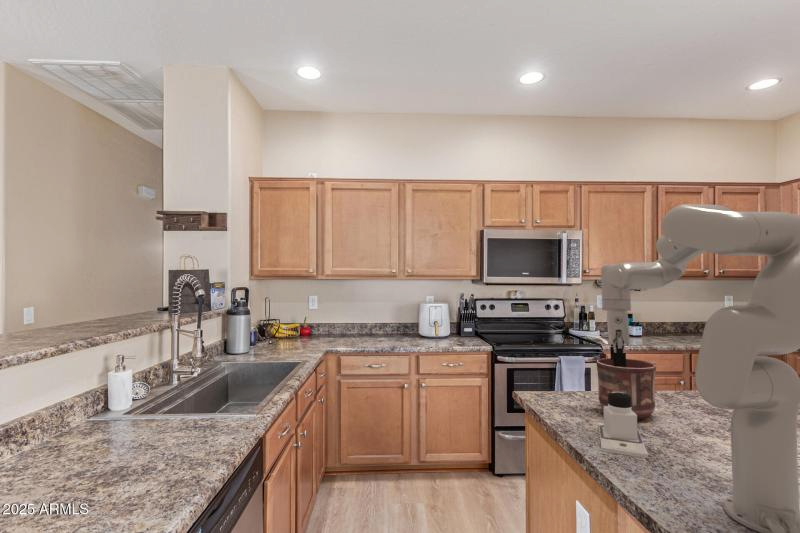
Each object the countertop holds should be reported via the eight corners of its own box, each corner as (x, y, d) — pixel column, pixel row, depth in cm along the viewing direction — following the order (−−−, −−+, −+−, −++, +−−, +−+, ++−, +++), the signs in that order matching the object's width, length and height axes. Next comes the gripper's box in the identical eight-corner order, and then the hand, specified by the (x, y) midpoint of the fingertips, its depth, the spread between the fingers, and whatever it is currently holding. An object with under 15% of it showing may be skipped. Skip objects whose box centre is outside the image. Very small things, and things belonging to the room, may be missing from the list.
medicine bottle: (638, 440, 111) (637, 397, 111) (611, 438, 112) (609, 396, 113) (629, 430, 118) (628, 390, 118) (603, 429, 119) (602, 389, 120)
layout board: (648, 458, 102) (648, 453, 102) (601, 451, 107) (601, 446, 107) (637, 430, 120) (637, 426, 120) (598, 425, 125) (598, 421, 125)
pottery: (645, 429, 121) (644, 371, 122) (588, 414, 135) (587, 361, 135) (665, 416, 132) (663, 363, 133) (610, 403, 146) (609, 355, 146)
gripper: (634, 307, 107) (636, 370, 106) (627, 303, 123) (629, 358, 122) (603, 307, 110) (605, 368, 109) (600, 303, 126) (602, 356, 125)
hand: (618, 363), depth 116 cm, fingers open, 9 cm apart
